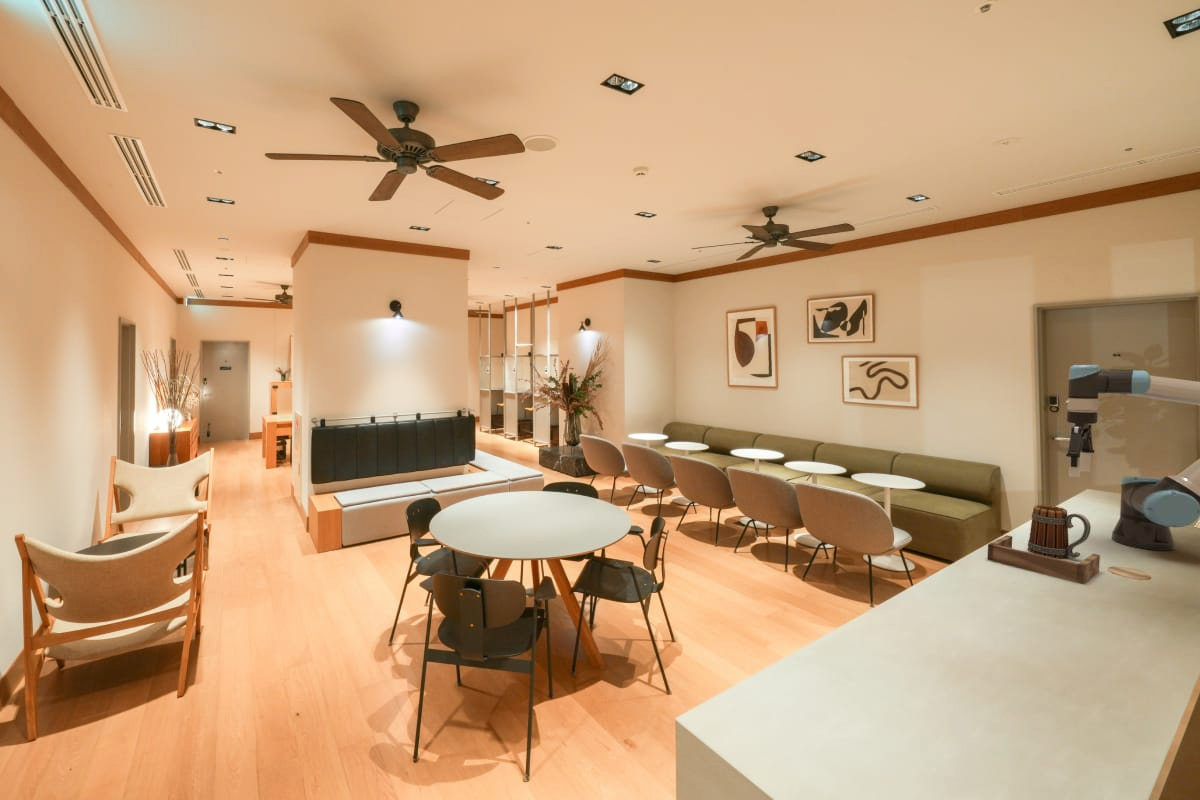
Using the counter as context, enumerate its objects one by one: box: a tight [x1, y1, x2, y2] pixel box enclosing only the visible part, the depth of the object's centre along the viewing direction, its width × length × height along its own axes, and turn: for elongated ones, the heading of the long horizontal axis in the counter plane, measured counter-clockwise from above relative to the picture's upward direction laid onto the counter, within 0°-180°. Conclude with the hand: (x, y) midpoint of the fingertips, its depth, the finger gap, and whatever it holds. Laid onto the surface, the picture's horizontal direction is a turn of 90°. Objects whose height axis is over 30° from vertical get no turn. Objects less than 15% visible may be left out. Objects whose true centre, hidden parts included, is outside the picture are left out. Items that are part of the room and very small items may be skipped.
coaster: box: [1107, 566, 1152, 581], centre depth 156 cm, size 9×9×1 cm
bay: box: [986, 535, 1101, 585], centre depth 163 cm, size 16×23×5 cm
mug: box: [1027, 504, 1092, 559], centre depth 171 cm, size 16×11×15 cm
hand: (1079, 474), depth 179 cm, fingers open, 13 cm apart
